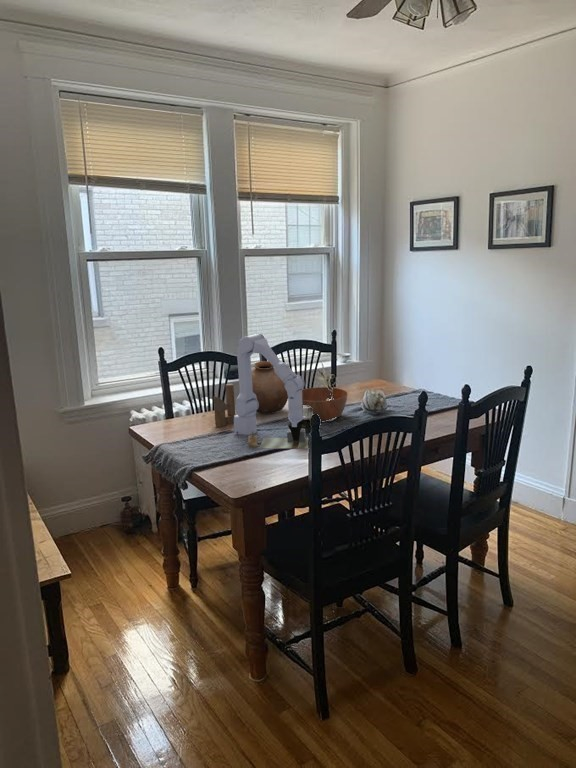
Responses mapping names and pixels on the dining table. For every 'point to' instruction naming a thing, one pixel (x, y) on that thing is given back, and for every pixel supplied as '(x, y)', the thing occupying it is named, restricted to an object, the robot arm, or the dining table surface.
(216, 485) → the dining table surface
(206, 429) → the dining table surface
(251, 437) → the small yellow jar
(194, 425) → the dining table surface
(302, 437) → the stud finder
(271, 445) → the subfloor board
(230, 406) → the wooden block
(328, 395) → the bowl
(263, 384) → the pottery
